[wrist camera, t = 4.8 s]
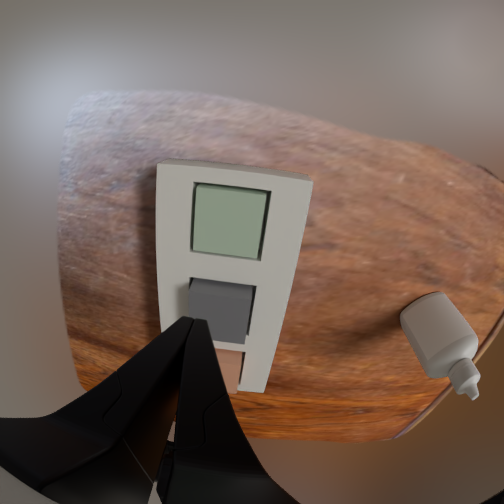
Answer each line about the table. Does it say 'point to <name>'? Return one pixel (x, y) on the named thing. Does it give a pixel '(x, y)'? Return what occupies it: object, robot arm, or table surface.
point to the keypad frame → (229, 266)
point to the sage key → (228, 219)
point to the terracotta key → (230, 367)
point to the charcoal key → (221, 308)
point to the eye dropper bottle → (442, 341)
